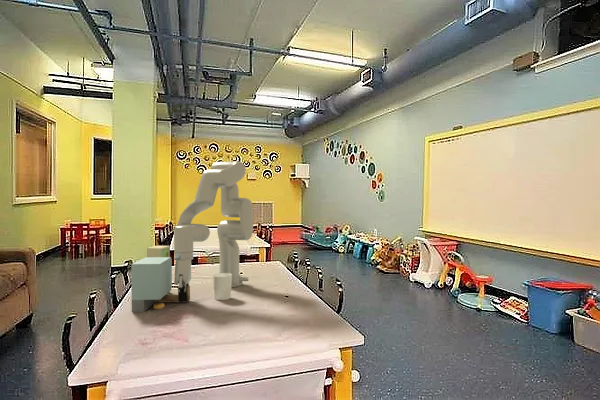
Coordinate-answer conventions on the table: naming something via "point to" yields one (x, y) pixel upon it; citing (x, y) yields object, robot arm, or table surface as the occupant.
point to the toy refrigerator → (158, 251)
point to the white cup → (222, 286)
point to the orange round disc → (158, 305)
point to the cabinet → (150, 281)
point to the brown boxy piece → (175, 296)
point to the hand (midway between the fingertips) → (184, 299)
